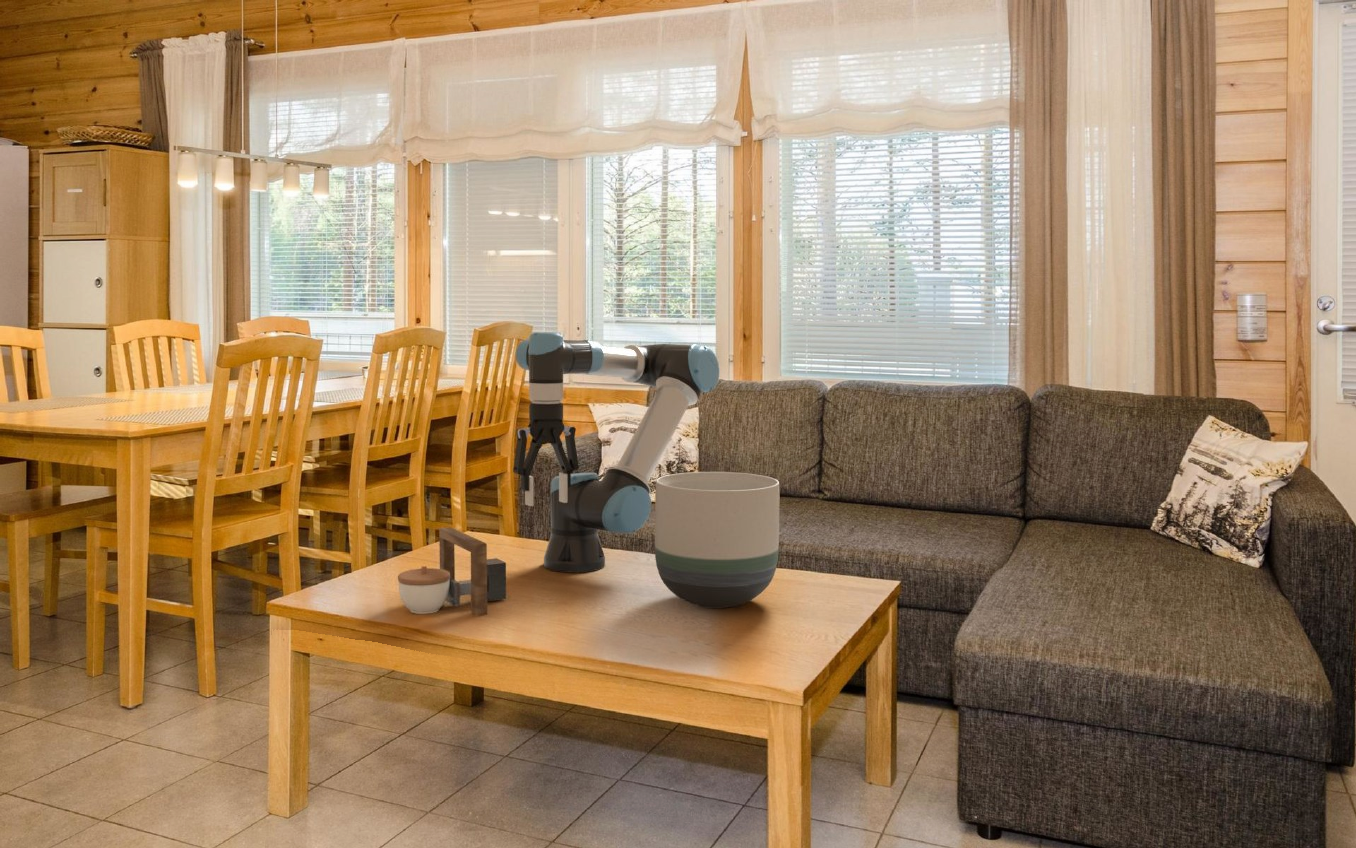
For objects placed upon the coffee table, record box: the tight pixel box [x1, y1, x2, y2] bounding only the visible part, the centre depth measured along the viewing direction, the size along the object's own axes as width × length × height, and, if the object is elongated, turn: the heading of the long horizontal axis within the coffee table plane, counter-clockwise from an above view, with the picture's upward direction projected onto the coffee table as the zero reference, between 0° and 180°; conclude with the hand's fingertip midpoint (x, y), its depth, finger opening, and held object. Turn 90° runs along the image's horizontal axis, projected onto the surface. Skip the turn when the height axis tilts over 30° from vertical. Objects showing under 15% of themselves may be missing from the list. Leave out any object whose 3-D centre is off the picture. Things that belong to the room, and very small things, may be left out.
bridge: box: [438, 526, 488, 617], centre depth 233 cm, size 2×20×15 cm, turn 33°
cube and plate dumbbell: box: [445, 557, 507, 607], centre depth 235 cm, size 12×9×8 cm
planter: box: [654, 471, 780, 609], centre depth 235 cm, size 27×27×27 cm
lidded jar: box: [397, 565, 450, 615], centre depth 228 cm, size 11×11×9 cm
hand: (546, 503), depth 242 cm, fingers open, 8 cm apart
